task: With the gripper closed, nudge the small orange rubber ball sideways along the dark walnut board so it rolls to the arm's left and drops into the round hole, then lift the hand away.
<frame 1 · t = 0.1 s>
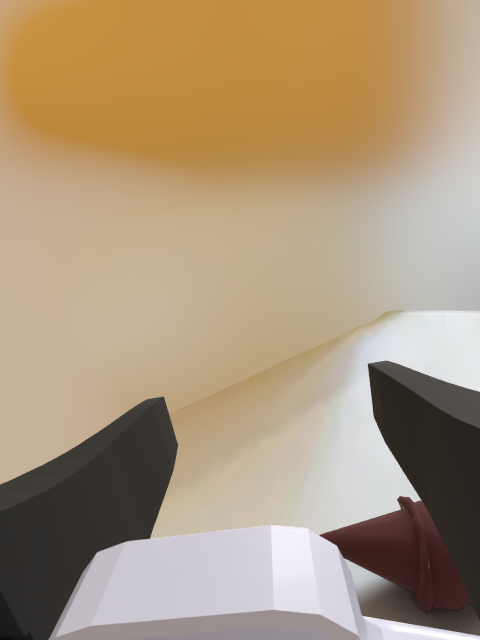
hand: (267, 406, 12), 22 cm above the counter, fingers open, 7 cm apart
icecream: (426, 590, 26), on the counter
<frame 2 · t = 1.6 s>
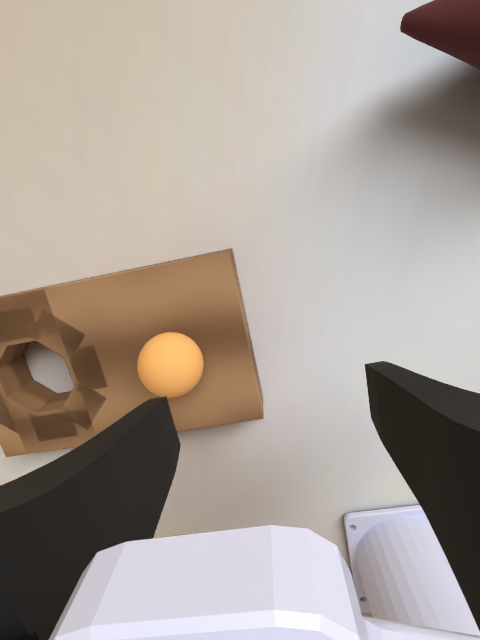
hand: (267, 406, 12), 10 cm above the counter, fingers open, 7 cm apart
ball: (171, 364, 18), point 4 cm above the counter, touching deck
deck: (121, 350, 22), on the counter
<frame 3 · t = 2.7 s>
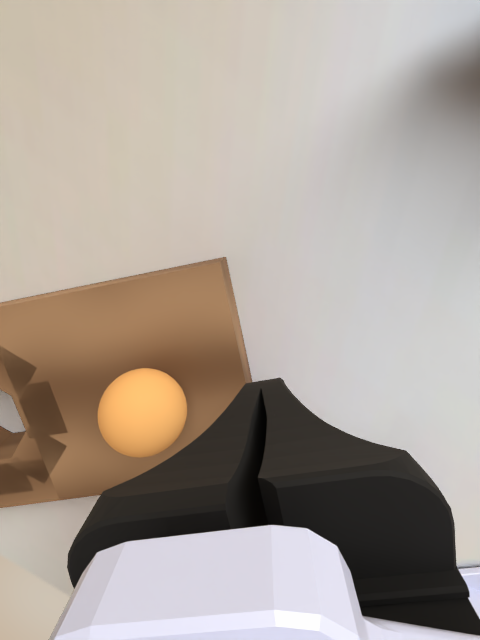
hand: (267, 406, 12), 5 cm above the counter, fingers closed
ball: (143, 411, 13), point 4 cm above the counter, touching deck
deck: (89, 382, 18), on the counter
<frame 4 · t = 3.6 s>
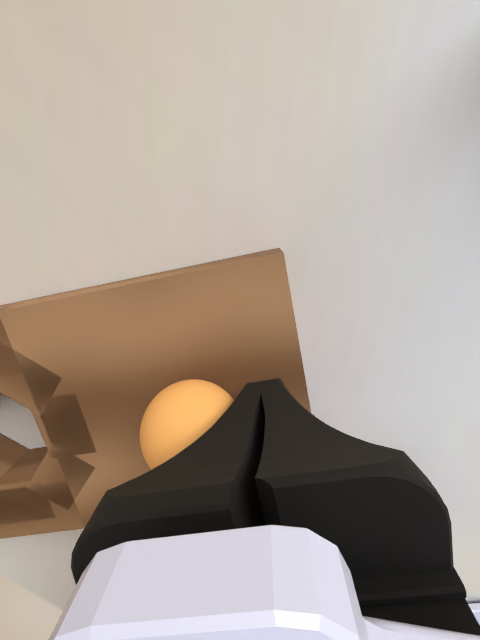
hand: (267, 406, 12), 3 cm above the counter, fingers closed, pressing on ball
ball: (192, 430, 11), point 4 cm above the counter, touching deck, gripper
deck: (117, 392, 16), on the counter
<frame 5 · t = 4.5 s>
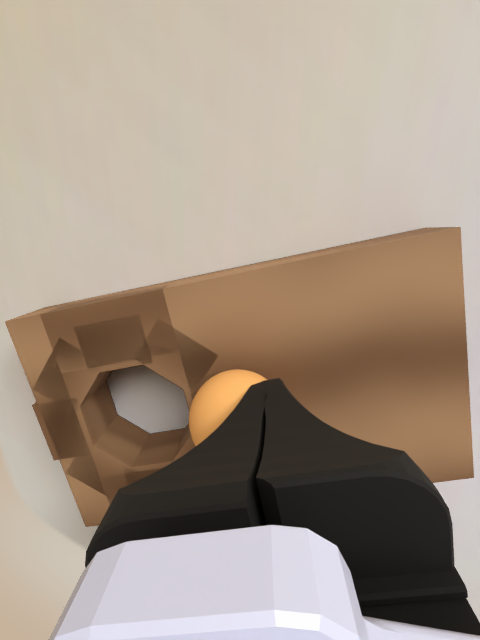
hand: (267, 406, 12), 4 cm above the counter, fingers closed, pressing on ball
ball: (237, 418, 12), point 4 cm above the counter, tilted 156°, touching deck, gripper
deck: (246, 375, 16), on the counter
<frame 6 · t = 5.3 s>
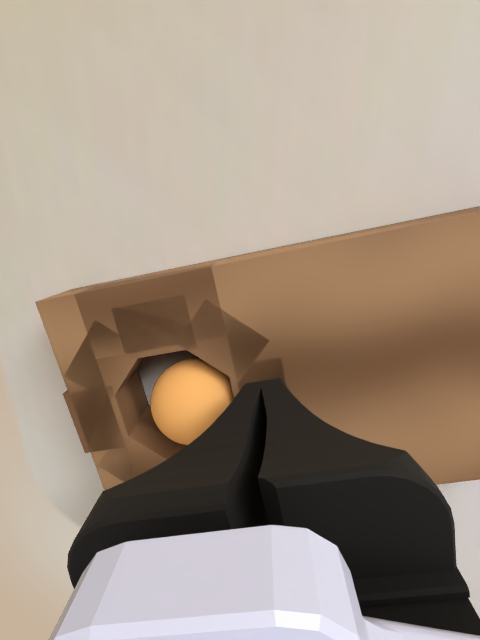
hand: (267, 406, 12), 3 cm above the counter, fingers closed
ball: (193, 400, 14), point 2 cm above the counter, tilted 117°
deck: (288, 363, 15), on the counter
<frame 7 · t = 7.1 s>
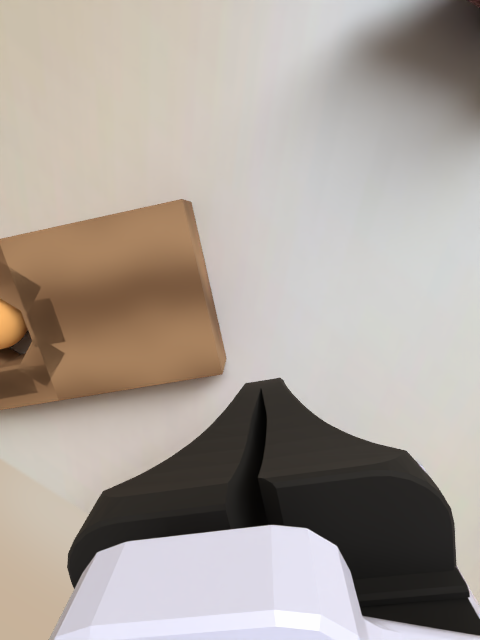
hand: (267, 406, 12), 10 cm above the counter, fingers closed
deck: (83, 308, 22), on the counter
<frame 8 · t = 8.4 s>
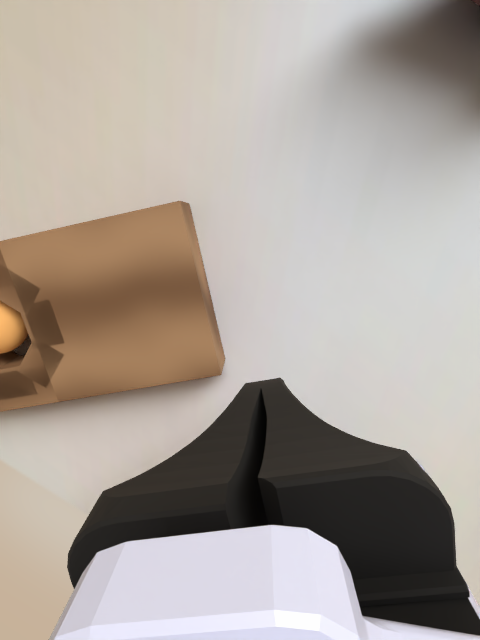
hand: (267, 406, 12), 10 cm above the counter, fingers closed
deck: (82, 310, 22), on the counter
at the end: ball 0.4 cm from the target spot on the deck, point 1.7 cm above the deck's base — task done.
